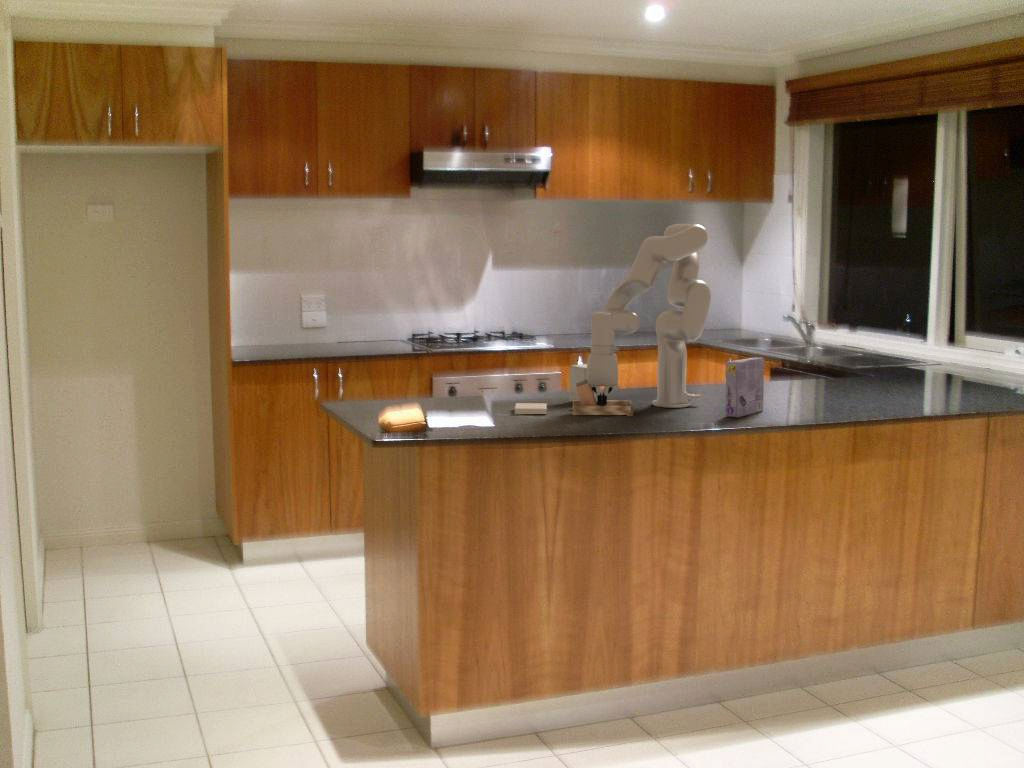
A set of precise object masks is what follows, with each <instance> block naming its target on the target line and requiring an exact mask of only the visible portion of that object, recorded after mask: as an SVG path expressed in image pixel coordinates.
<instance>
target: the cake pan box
mask: <svg viewBox="0 0 1024 768" xmlns="http://www.w3.org/2000/svg"><path fill="white" fill-rule="evenodd" d="M764 377H765V357H749V358H743V359H736V360H731V361H725V417H730V418H736V419H738V418H741V417H745V416H750V415H754V414H756V413H760V412H763V411H764V396H765V395H764V392H765V391H764V390H765V389H764V388H765V387H764V386H765V385H764V384H765V383H764V381H765V378H764Z"/></svg>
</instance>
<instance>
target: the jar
mask: <svg viewBox="0 0 1024 768" xmlns="http://www.w3.org/2000/svg"><path fill="white" fill-rule="evenodd" d="M575 388H576V391H577V394H578V397H579V400H580V403H581V406H598V405H597V401H596V398H595V395H594V392H593V390H592V387H591V386H590V385H589V384H588V383H587V379H585V380H582V381H579V382H577V383H576V386H575Z"/></svg>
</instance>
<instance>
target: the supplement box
mask: <svg viewBox="0 0 1024 768" xmlns="http://www.w3.org/2000/svg"><path fill="white" fill-rule="evenodd" d="M586 371H587V363H584V364H582V363H581V364H575V365H574V364H573V365H569V402H570V401H572V402H571V403H573V400H579V397H578V394H577V391H576V388H575V386H576V383H577V382H579V381H582V380H585V379H586ZM595 387H596V386H595ZM593 392H594V391H593ZM594 395H595V398H596V400H597V394H596V393H595V392H594Z"/></svg>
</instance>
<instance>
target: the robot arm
mask: <svg viewBox="0 0 1024 768" xmlns="http://www.w3.org/2000/svg"><path fill="white" fill-rule="evenodd" d="M708 239H709V234H708V231H707V229H706V228H705V227H704V226H702V225H700V224H698V223H697V224H696V223H675V224H671V225H668V226H667V227H666V228H665V230H664V231H663V235H662V236H661V235H653V236H649V237H645V239H644V240H643V241H642V243H641V245H640V247H639V250H638V252H637V254H636V257H635V259H634V261H633V263H632V266H631V268H630V271H629V273H628V274H627V277H625V279H624V280H623V281H622V282H621V283H620V284H619V285H618V286H617V287H616V288H615V289H614V291H613V292H612V293H611V295H610V296H609V297H608V299H607V302H606V303H605V306H604V308H603V311H595V312H593V313H592V314H591V319H590V320H591V321H590V323H591V325H590V326H591V327H590V353H588V356H587V361H586V362H587V363H586V364H587V371H586V379H587V383H588V384H589V385H590V386H591V387H592V390H593V391H594V392H595V393H596V394H597V405H599V406H605V405H607V399H608V395H609V394H610V393H611V392H612V391H615V390H618V389H619V388H620V384H619V363H618V356H617V354H616V352H619V351H620V347H619V346H616V345H615V343H616V340H615V337H616V334H621V335H630V334H631V335H632V334H633V333H637V331H638V330H639V329H640V325H641V319H640V317H639V315H638V314H637V313H636V312H633V311H631V310H626V309H627V307H628V306H629V304H630V302H632V300H634V299H635V298H636V297H637V296H639V295H642V294H644V293H645V292H648V291H649V290H650V289H651V288H653V286H654V283H655V280H656V279H657V276H658V274H659V271H660V269H661V267H662V265H663V264H672V263H673V265H672V272H671V276H670V280H669V285H668V288H667V292H666V293H667V294H666V298H667V302H668V303H669V305H671V306H673V307H676V308H682V309H683V310H671V309H670V310H666V311H663V312H661V313H660V314H659V315H658V317H657V318H656V320H655V333H656V334H655V335H656V339H657V387H656V388H657V390H656V393H657V394H656V395H657V396H656V399H653V400H652V403H651V404H652V405H653V406H654V407H659V408H667V409H668V408H669V409H670V408H671V409H672V408H673V409H674V408H675V409H676V408H677V409H678V408H687V407H690V406H691V401H701V394H695V393H692V394H691V393H688V391H687V363H688V362H687V359H688V351H687V347H686V343H692V342H695V341H697V340H698V339H700V337H701V336H702V335H703V332H704V329H705V325H706V322H707V317H708V313H709V309H710V306H711V305H710V304H711V299H712V295H711V293H712V292H711V290H710V289H711V288H710V286H709V285H708V284H707V283H706V282H705V281H703V280H701V279H698V277H699V272H700V270H699V269H700V260H699V259H700V257H699V256H698V253H697V252H699V251H700V250H702V249H704V247H705V246H706V244H707V243H708ZM595 386H596V387H595ZM600 387H604V388H603V392H601V388H600Z"/></svg>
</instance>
